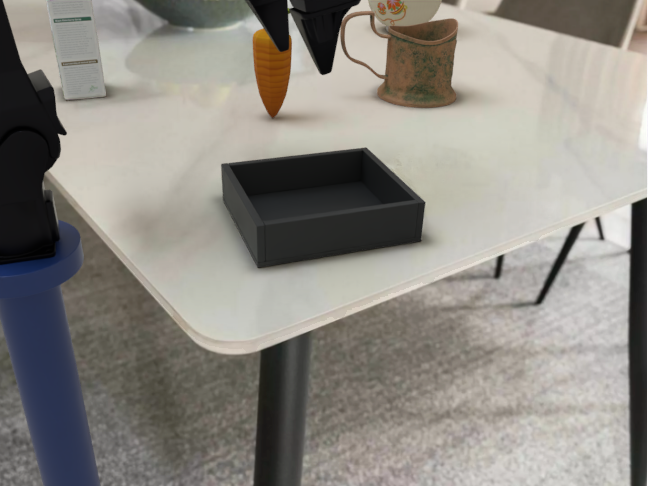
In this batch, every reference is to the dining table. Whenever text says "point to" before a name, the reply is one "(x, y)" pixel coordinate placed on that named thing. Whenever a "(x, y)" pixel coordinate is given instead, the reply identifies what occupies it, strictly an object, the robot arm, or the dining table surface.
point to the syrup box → (76, 48)
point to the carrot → (271, 71)
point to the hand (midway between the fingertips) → (304, 61)
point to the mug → (415, 62)
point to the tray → (319, 205)
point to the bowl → (404, 11)
